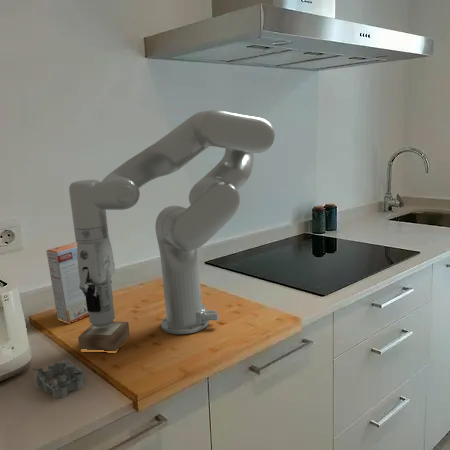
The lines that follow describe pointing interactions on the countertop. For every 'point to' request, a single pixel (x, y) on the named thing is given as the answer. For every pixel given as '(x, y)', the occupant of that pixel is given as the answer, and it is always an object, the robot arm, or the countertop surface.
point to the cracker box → (66, 283)
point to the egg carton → (60, 378)
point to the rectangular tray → (105, 337)
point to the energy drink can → (103, 304)
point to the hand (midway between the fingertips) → (100, 305)
